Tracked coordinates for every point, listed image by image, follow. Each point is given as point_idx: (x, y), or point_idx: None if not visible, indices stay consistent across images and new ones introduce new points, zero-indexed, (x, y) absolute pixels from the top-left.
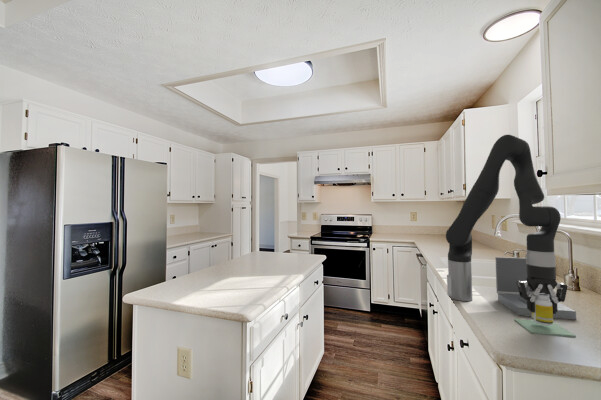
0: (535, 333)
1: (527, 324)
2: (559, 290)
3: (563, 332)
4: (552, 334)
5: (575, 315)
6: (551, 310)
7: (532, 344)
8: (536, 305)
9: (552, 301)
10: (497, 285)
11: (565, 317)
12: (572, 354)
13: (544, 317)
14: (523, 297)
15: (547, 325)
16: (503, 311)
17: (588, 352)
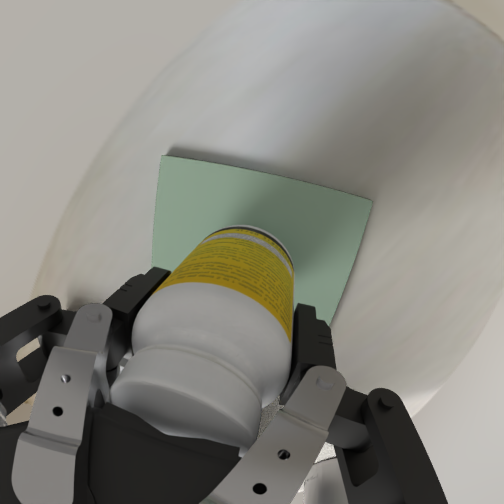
0: (352, 194)
1: (312, 286)
2: (2, 385)
3: (192, 188)
4: (269, 174)
5: None
6: (187, 265)
7: (450, 101)
8: (288, 333)
9: (117, 335)
10: None
11: None
12: (341, 6)
13: (261, 248)
14: (399, 409)
15: None
16: None
17: (247, 16)
